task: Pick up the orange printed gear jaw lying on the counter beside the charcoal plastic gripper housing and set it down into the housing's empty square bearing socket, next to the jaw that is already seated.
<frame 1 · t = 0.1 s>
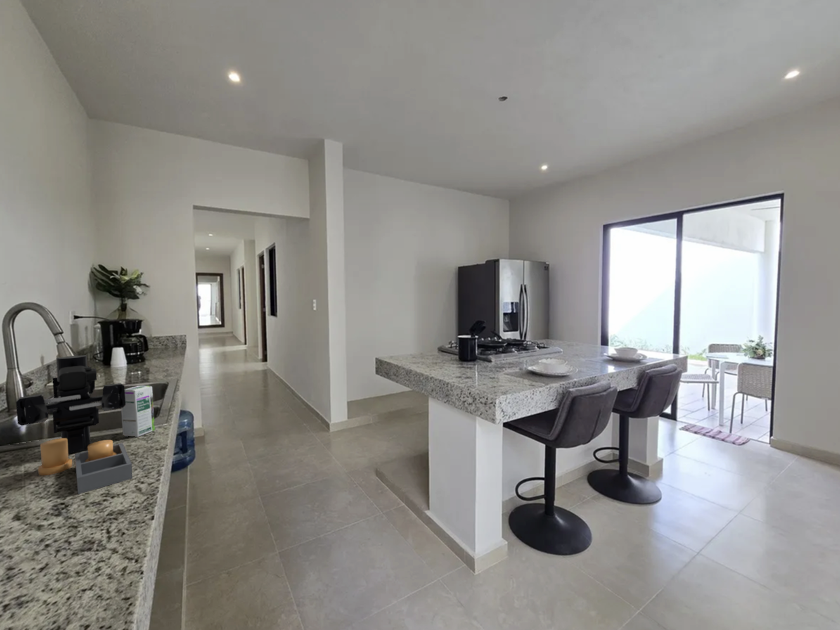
hand: (76, 410, 80), 17 cm above the countertop, tool horizontal, fingers open, 9 cm apart
syrup box: (138, 434, 110), on the countertop
orange jaw: (55, 469, 87), on the countertop
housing: (103, 472, 85), on the countertop
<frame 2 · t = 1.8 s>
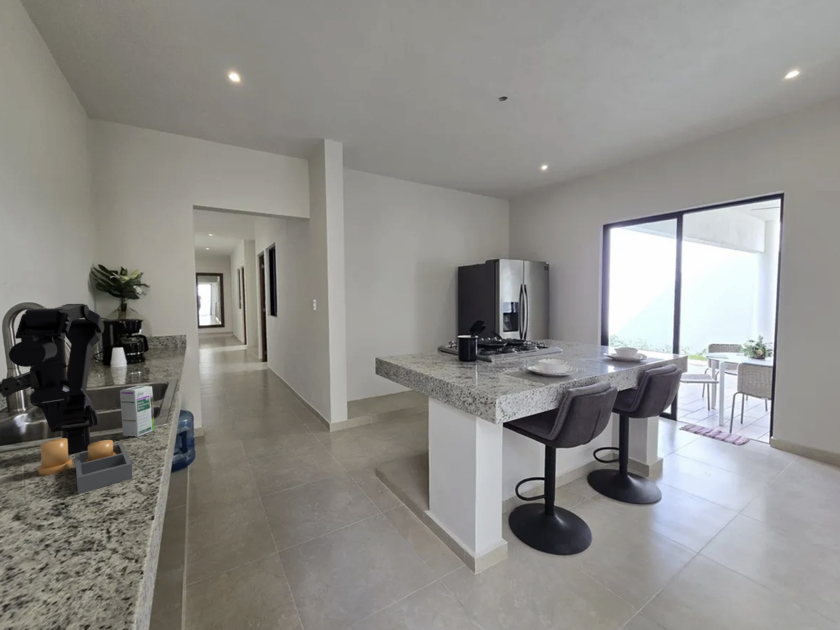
hand: (53, 423, 87), 12 cm above the countertop, tool pointing down, fingers open, 9 cm apart
nothing on the countertop moved.
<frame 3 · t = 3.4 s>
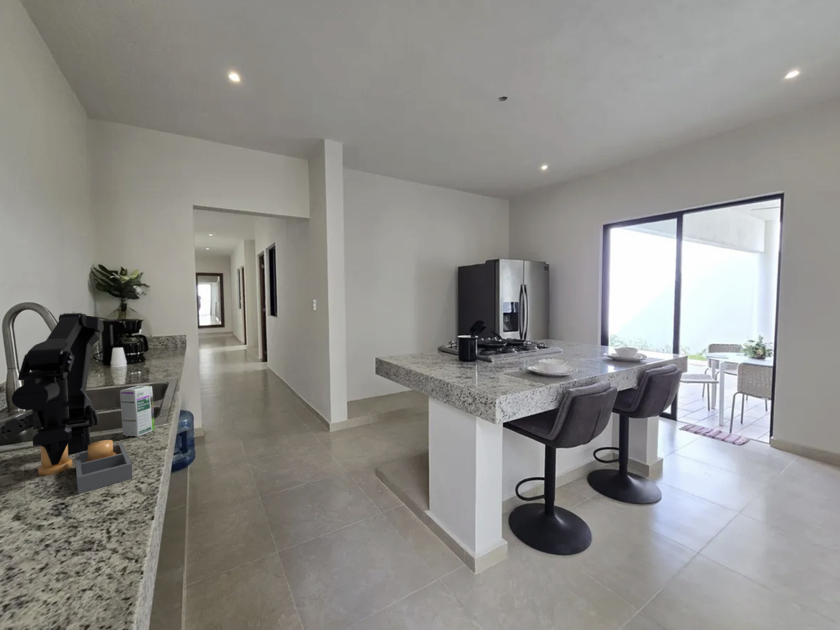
hand: (55, 461, 87), 2 cm above the countertop, tool pointing down, fingers closed on orange jaw, 5 cm apart
orange jaw: (55, 469, 87), on the countertop, touching gripper
everything else where it was.
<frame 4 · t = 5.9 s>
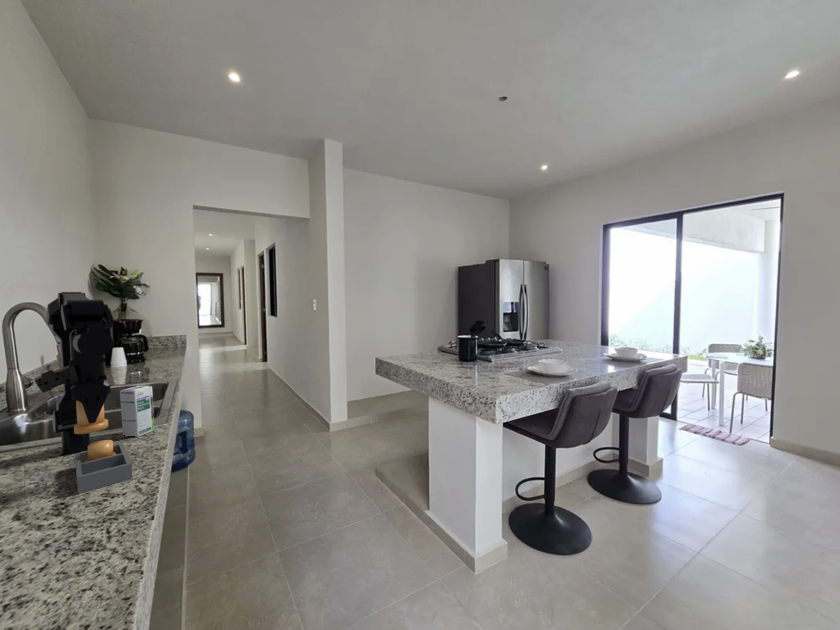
hand: (91, 420, 82), 14 cm above the countertop, tool pointing down, fingers closed on orange jaw, 5 cm apart
orange jaw: (91, 429, 82), point 12 cm above the countertop, touching gripper
everything else where it was.
when the fingers open (4 cm above the countertop, at t = 8.6 s): orange jaw drops 1 cm, resting on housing.
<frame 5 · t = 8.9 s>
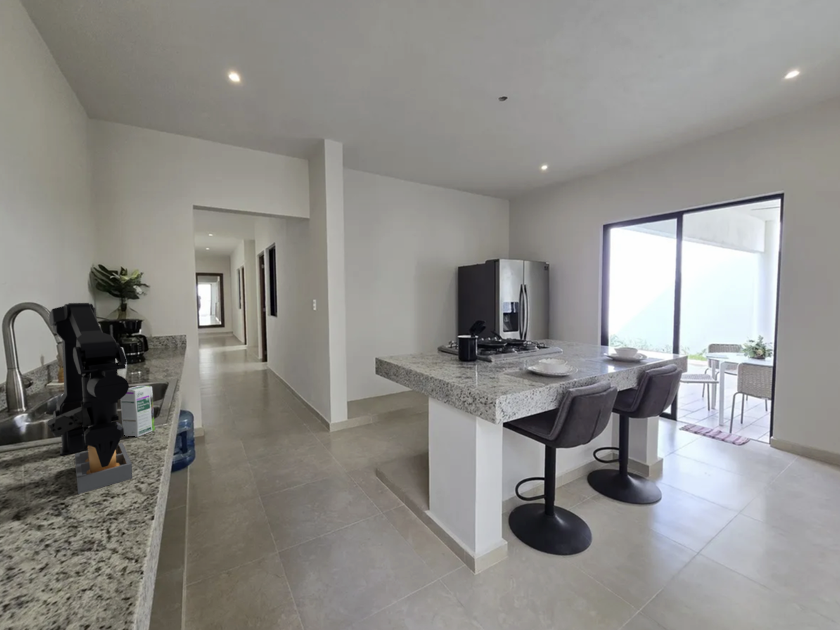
hand: (103, 461, 82), 4 cm above the countertop, tool pointing down, fingers open, 7 cm apart
orange jaw: (103, 474, 82), point 1 cm above the countertop, touching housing
everything else where it was.
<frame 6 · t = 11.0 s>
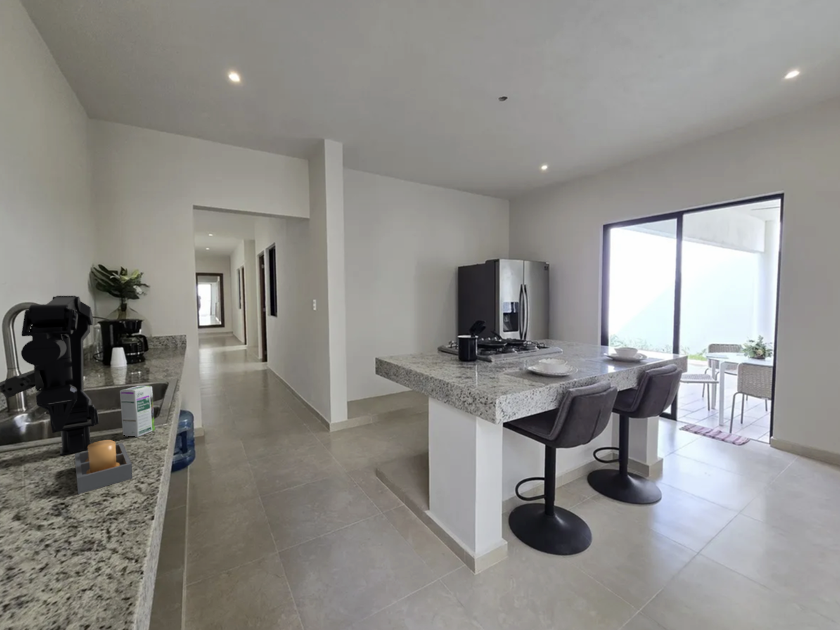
hand: (58, 424, 83), 13 cm above the countertop, tool pointing down, fingers open, 9 cm apart
nothing on the countertop moved.
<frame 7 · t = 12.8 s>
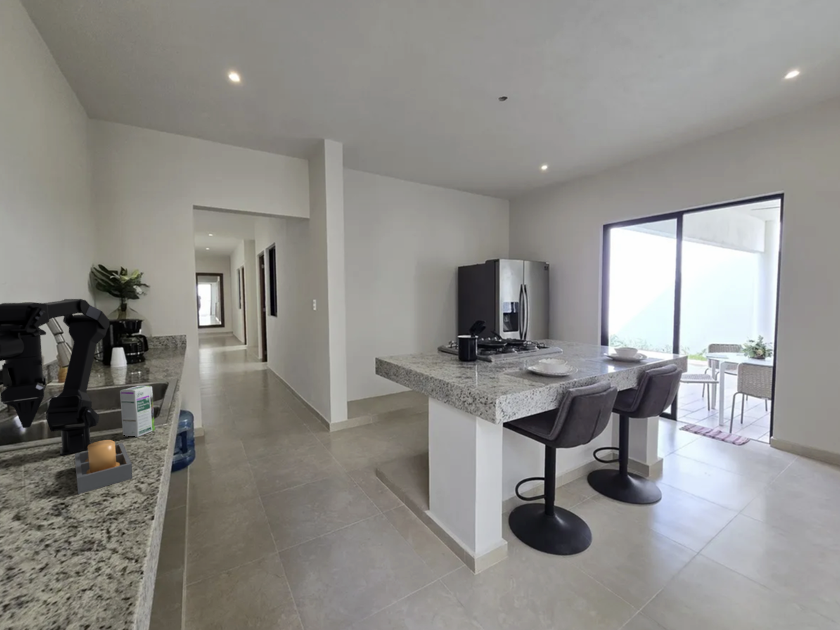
hand: (27, 422, 83), 13 cm above the countertop, tool pointing down, fingers open, 9 cm apart
nothing on the countertop moved.
at the end: orange jaw 0.1 cm from the target spot on the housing, point 1.1 cm above the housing's base; orange jaw tilted 2°; the gripper is holding nothing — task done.
